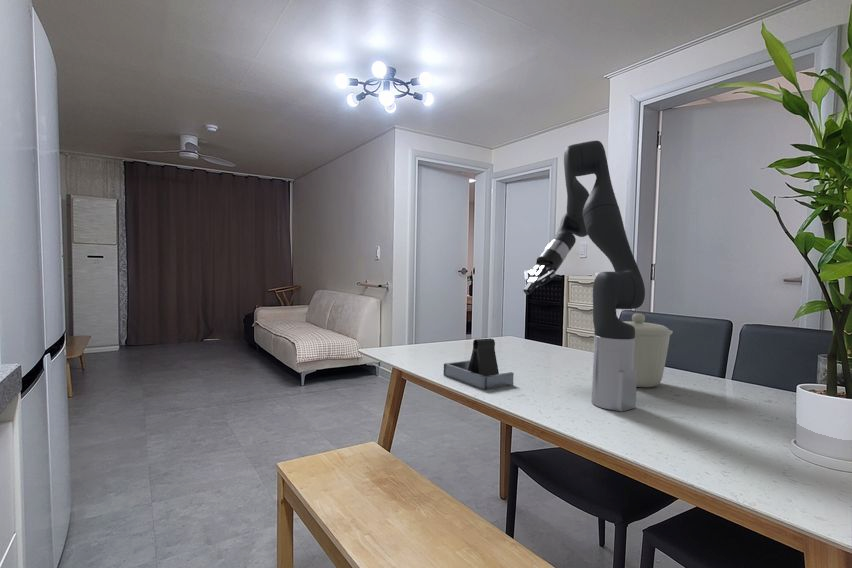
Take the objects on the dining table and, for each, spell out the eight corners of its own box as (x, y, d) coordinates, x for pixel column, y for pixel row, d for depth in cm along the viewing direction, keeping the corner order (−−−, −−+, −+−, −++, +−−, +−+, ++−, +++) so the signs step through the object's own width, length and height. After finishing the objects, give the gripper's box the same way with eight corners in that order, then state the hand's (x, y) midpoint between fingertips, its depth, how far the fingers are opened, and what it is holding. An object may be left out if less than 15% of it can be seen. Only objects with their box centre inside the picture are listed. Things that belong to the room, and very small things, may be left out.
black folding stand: (499, 381, 128) (501, 341, 127) (483, 383, 125) (484, 342, 125) (482, 374, 136) (483, 336, 135) (466, 375, 133) (467, 337, 133)
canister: (592, 381, 130) (595, 312, 129) (618, 372, 142) (621, 309, 141) (656, 395, 117) (659, 318, 116) (679, 384, 129) (682, 314, 128)
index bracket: (513, 384, 124) (513, 372, 124) (484, 390, 118) (484, 377, 118) (471, 370, 140) (471, 360, 140) (443, 374, 134) (443, 363, 134)
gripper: (532, 248, 149) (506, 283, 143) (564, 247, 138) (536, 285, 132) (542, 264, 152) (517, 299, 146) (574, 264, 141) (547, 302, 135)
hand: (526, 292), depth 139 cm, fingers closed
